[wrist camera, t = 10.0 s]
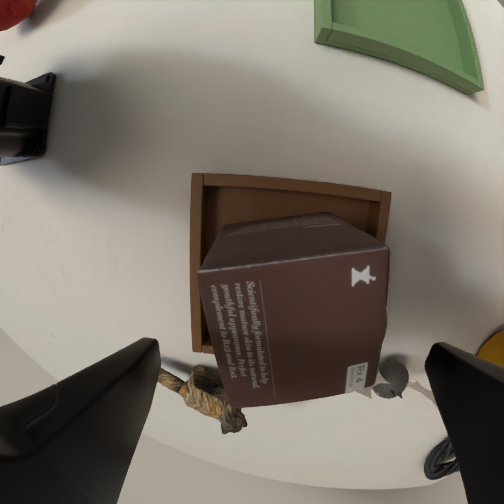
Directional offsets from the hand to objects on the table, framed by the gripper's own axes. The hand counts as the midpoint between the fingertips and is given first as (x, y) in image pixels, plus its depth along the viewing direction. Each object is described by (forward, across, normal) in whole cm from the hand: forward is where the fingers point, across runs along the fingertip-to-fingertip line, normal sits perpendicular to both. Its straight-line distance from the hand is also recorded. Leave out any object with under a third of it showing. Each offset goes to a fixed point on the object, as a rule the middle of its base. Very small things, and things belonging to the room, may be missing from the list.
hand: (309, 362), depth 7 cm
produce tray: (+9, -7, -20) cm, 23 cm away
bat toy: (+9, -9, +8) cm, 15 cm away
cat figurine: (+9, +5, +9) cm, 14 cm away
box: (+8, 0, 0) cm, 8 cm away
